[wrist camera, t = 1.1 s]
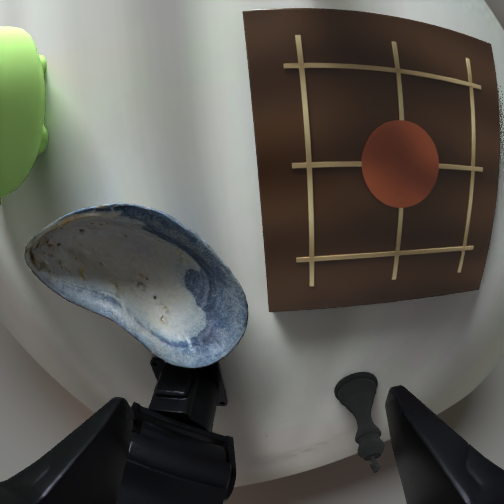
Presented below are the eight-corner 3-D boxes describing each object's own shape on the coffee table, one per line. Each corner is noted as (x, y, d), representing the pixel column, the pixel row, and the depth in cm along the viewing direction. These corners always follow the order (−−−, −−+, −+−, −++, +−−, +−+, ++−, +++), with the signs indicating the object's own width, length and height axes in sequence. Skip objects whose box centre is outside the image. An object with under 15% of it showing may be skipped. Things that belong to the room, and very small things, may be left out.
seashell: (96, 334, 25) (73, 368, 20) (51, 208, 20) (12, 229, 16) (256, 333, 24) (254, 378, 19) (235, 174, 19) (224, 191, 14)
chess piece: (365, 364, 25) (392, 455, 16) (383, 385, 26) (408, 466, 17) (326, 386, 26) (339, 476, 17) (346, 405, 27) (361, 486, 18)
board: (470, 281, 21) (479, 290, 19) (268, 301, 22) (269, 313, 21) (480, 46, 13) (492, 43, 11) (244, 18, 14) (242, 10, 13)
